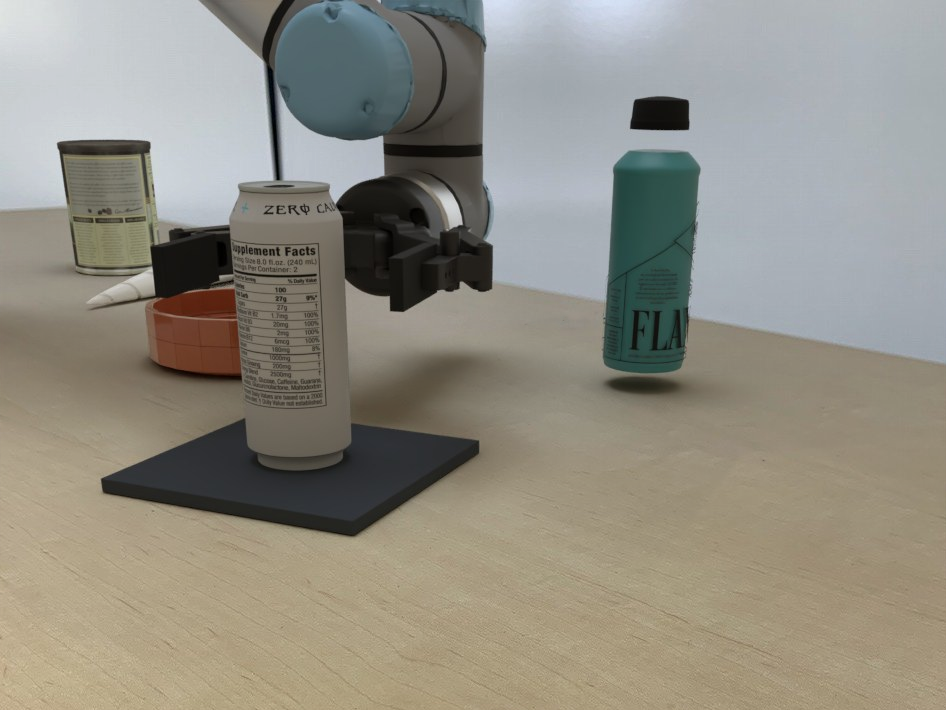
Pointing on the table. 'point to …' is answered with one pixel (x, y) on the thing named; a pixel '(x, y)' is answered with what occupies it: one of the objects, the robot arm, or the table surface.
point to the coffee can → (110, 205)
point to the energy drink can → (292, 322)
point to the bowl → (195, 332)
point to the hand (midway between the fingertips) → (274, 278)
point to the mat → (296, 477)
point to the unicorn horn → (136, 289)
